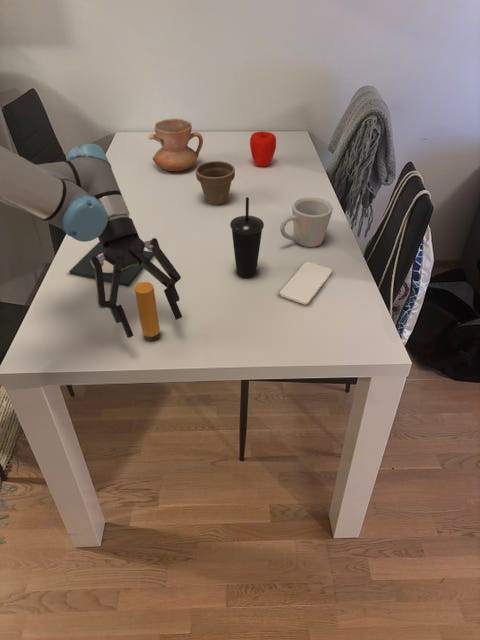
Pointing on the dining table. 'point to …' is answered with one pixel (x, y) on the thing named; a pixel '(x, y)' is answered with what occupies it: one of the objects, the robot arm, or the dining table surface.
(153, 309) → the marker
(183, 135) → the ceramic jug
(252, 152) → the red rounded lobed shape
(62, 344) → the dining table surface
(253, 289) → the dining table surface
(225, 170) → the flower pot
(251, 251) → the drinking cup
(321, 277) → the smartphone
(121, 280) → the black coaster mat
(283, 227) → the mug
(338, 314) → the dining table surface
